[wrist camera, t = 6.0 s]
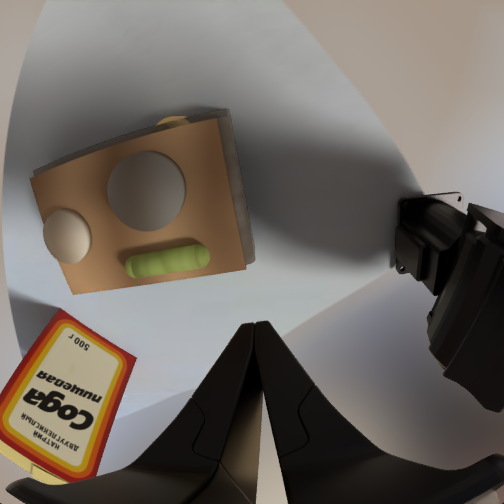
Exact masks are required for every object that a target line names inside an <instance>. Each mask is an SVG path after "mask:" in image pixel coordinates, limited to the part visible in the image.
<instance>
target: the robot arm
mask: <svg viewBox="0 0 504 504" xmlns="http://www.w3.org/2000/svg"><path fill="white" fill-rule="evenodd" d="M458 196H459V199H458V200H457V198H458ZM405 202H406V205H405V206H404V207H403V204H404V203H405ZM467 211H468V213H467V215H466V214H464V213H463V194H461V193H460V192H449V193H440V194H430V195H421V196H412V197H403V198H401V199H400V200H399V202H398V225H397V226H396V234H395V256H396V270H397V272H398V273H399V274H406V273H411V275H412V276H413V277H414V278H415V279H416V280H417V281H422V282H423V283H424V284H425V286H426V287H427V288H428V289H429V290H430V292H431V293H432V294H433V295H434V296H437V295H438V297H437V299H436V302H435V304H434V306H433V308H432V311H430V312H429V314H428V316H427V322H428V329H427V334H428V337H429V341H430V345H429V350H430V352H431V354H432V355H433V356H434V358H435V359H436V360H437V361H438V363H439V364H440V365H441V367H442V368H443V369H444V370H445V371H444V373H443V375H444V376H445V377H446V378H448V379H450V380H453V381H455V382H457V383H458V384H460V385H461V386H463V387H464V388H465V389H467V390H468V391H469V392H470V393H471V394H472V395H473V396H474V397H475V398H476V399H477V400H478V401H479V403H480V404H481V405H482V406H483V407H484V408H485V409H488V410H491V411H494V412H501V411H502V410H503V409H504V213H501V212H498V211H494V210H492V209H488V208H485V207H482V206H479V205H475V204H472V203H469V204H468V208H467ZM402 266H403V268H402V269H400V268H401V267H402ZM263 392H264V396H265V401H266V406H267V410H268V415H269V419H270V424H271V428H272V433H273V437H274V442H275V446H276V450H277V455H278V459H279V463H280V468H281V472H282V477H283V482H284V486H285V491H286V496H287V500H288V504H500V501H499V499H498V496H497V493H496V490H497V489H498V488H500V487H501V486H502V485H504V456H503V455H500V454H492V455H490V456H488V457H486V458H484V459H482V460H480V461H478V462H477V463H475V464H473V465H471V466H469V467H466V468H463V469H458V470H444V469H438V468H434V467H430V466H427V465H423V464H420V463H416V462H413V461H410V460H406V459H403V458H400V457H397V456H394V455H391V454H389V453H386V452H384V451H383V450H381V449H379V448H378V447H377V446H375V445H374V444H373V443H372V442H371V441H370V440H368V439H367V438H366V437H365V436H364V435H363V434H362V433H361V432H360V431H358V430H357V429H356V428H355V427H354V426H353V425H352V424H351V423H350V422H349V421H348V420H346V418H344V417H343V416H342V415H341V414H340V413H339V412H338V411H337V410H336V409H335V407H334V406H333V405H332V404H331V403H330V402H329V401H328V400H327V398H326V397H325V396H324V395H323V394H322V392H321V391H320V390H319V388H318V387H317V386H316V385H315V383H314V382H313V380H312V379H311V378H310V376H309V375H308V374H307V372H306V371H305V370H304V368H303V367H302V366H301V364H300V363H299V362H298V360H297V359H296V358H295V356H294V355H293V354H292V352H291V351H290V350H289V348H288V347H287V345H286V344H285V343H284V341H283V340H282V339H281V337H280V336H279V334H278V333H277V332H276V330H275V329H274V328H273V326H272V325H271V323H270V322H269V321H259V322H256V323H253V322H252V323H244V324H242V325H241V326H240V327H239V329H238V330H237V331H236V333H235V334H234V336H233V337H232V339H231V340H230V342H229V343H228V345H227V346H226V348H225V349H224V351H223V352H222V353H221V355H220V356H219V358H218V359H217V361H216V362H215V364H214V365H213V367H212V368H211V369H210V371H209V372H208V374H207V375H206V377H205V378H204V379H203V381H202V382H201V384H200V385H199V387H198V388H197V389H196V391H195V392H194V394H193V395H192V398H190V399H189V401H188V402H187V403H186V405H185V406H184V408H183V409H182V410H181V411H180V413H179V414H178V415H177V417H176V418H175V419H174V420H173V421H172V423H171V424H170V425H169V426H168V427H167V428H166V429H165V430H164V431H163V433H162V434H161V435H160V436H159V437H158V438H157V439H156V440H155V441H154V442H153V443H152V444H151V445H150V446H149V447H148V448H147V449H146V450H145V451H144V452H143V453H142V454H141V456H139V457H138V458H137V459H136V460H135V461H134V462H132V463H131V464H130V465H128V466H127V467H125V468H123V469H121V470H118V471H114V472H111V473H107V474H104V475H100V476H96V477H93V478H89V479H85V480H80V481H76V482H72V483H67V484H61V485H50V484H45V483H41V482H39V481H37V480H34V479H32V478H28V477H27V478H24V479H20V480H17V481H14V482H13V483H11V484H10V485H8V486H7V488H6V491H7V492H8V493H10V494H11V495H13V496H14V497H16V498H17V499H19V500H20V501H22V502H23V503H25V504H256V493H257V479H258V466H259V452H260V436H261V420H262V404H263ZM0 504H1V503H0ZM503 504H504V503H503Z"/></svg>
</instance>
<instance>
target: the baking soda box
mask: <svg viewBox="0 0 504 504" xmlns="http://www.w3.org/2000/svg"><path fill="white" fill-rule="evenodd" d="M136 359H137V358H136V357H134V356H133V355H131V354H129V353H128V352H126V351H124V350H123V349H121V348H119V347H118V346H116V345H114V344H113V343H111V342H110V341H108V340H106V339H105V338H103V337H102V336H100V335H99V334H97V333H96V332H94V331H93V330H91V329H90V328H88V327H87V326H85V325H84V324H82V323H81V322H79V321H78V320H76V319H75V318H73V317H72V316H71V315H69V314H68V313H66V312H65V311H64V310H62V309H61V308H60V309H59V311H58V312H57V313H56V314H55V316H54V317H53V318H52V320H51V321H50V322H49V324H48V325H47V326H46V327H45V329H44V330H43V332H42V333H41V334H40V336H39V337H38V338H37V340H36V341H35V342H34V344H33V345H32V347H31V348H30V350H29V351H28V352H27V354H26V355H25V357H24V358H23V360H22V361H21V363H20V364H19V366H18V367H17V369H16V370H15V372H14V373H13V375H12V376H11V378H10V379H9V381H8V383H7V384H6V386H5V387H4V389H3V390H2V392H1V394H0V453H2V454H3V455H4V456H6V457H7V458H8V459H10V460H11V461H13V462H14V463H16V464H17V465H19V466H20V467H22V468H23V469H25V470H26V471H28V472H30V473H31V474H32V477H34V478H36V479H37V480H40V481H41V482H43V483H45V484H50V485H61V484H67V483H72V482H76V481H80V480H85V479H89V478H93V477H96V475H97V472H98V468H99V465H100V462H101V458H102V455H103V452H104V449H105V446H106V443H107V440H108V437H109V434H110V431H111V427H112V425H113V422H114V419H115V416H116V413H117V410H118V407H119V405H120V402H121V399H122V396H123V394H124V391H125V388H126V385H127V383H128V380H129V377H130V375H131V372H132V370H133V367H134V364H135V362H136Z"/></svg>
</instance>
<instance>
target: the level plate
mask: <svg viewBox="0 0 504 504" xmlns="http://www.w3.org/2000/svg"><path fill="white" fill-rule="evenodd" d="M30 181H31V185H32V188H33V192H34V195H35V198H36V202H37V205H38V208H39V211H40V214H41V217H42V220H43V223H44V228H43V236H44V241H45V244H46V246H47V248H48V250H49V251H50V253H51V254H52V255H53V256H54V257H55V258H56V259H57V260H58V262H59V265H60V267H61V269H62V272H63V274H64V276H65V278H66V281H67V283H68V285H69V287H70V289H71V292H72V294H73V295H76V294H83V293H90V292H98V291H105V290H112V289H119V288H126V287H133V286H140V285H147V284H154V283H161V282H168V281H174V280H181V279H188V278H194V277H201V276H207V275H214V274H220V273H227V272H233V271H239V270H246V265H248V264H251V263H253V262H254V261H255V254H254V249H253V243H252V238H251V233H250V227H249V222H248V217H247V211H246V206H245V201H244V195H243V190H242V185H241V179H240V174H239V169H238V164H237V158H236V153H235V148H234V142H233V137H232V132H231V127H230V121H229V116H227V117H221V118H215V119H210V120H205V121H201V122H196V123H192V124H188V125H183V126H179V127H175V128H171V129H168V130H164V131H160V132H156V133H153V134H149V135H146V136H142V137H139V138H136V139H132V140H129V141H126V142H123V143H120V144H117V145H114V146H111V147H108V148H105V149H102V150H99V151H96V152H93V153H91V154H88V155H85V156H83V157H80V158H77V159H75V160H72V161H70V162H67V163H65V164H62V165H60V166H57V167H55V168H53V169H50V170H48V171H46V172H43V173H41V174H39V175H37V176H35V177H32V178H30Z"/></svg>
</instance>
